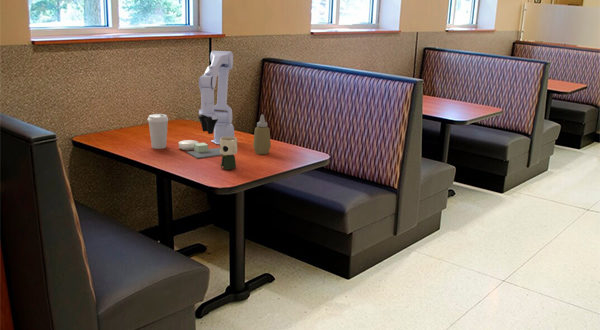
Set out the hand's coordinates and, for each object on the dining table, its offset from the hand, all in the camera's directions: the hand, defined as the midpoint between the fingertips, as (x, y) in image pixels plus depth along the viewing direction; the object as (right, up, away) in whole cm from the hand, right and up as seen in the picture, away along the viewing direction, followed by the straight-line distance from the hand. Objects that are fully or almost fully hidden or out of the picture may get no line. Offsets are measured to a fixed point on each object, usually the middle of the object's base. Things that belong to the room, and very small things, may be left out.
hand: (207, 132), depth 269 cm
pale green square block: (-4, -8, +5) cm, 10 cm away
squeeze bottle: (+24, -9, +6) cm, 26 cm away
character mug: (+12, -16, -19) cm, 28 cm away
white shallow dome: (-11, -7, +10) cm, 16 cm away
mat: (0, -10, +3) cm, 10 cm away
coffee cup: (-25, -6, +12) cm, 28 cm away
